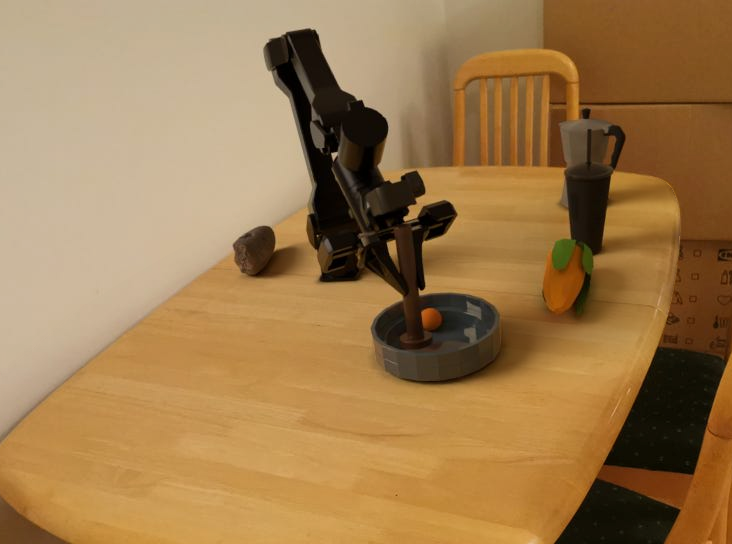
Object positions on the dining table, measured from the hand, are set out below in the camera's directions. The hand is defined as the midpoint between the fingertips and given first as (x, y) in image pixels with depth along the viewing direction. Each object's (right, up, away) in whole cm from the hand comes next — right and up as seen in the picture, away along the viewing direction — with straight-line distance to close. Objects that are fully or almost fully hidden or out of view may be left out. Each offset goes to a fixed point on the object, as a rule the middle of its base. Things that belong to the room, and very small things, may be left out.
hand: (414, 292), depth 88 cm
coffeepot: (+35, +22, +47) cm, 63 cm away
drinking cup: (+30, +10, +29) cm, 42 cm away
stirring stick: (0, -6, +4) cm, 8 cm away
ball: (+2, -3, +9) cm, 10 cm away
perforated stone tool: (-28, +9, +41) cm, 50 cm away
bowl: (+3, -7, +6) cm, 10 cm away
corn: (+23, 0, +14) cm, 27 cm away
